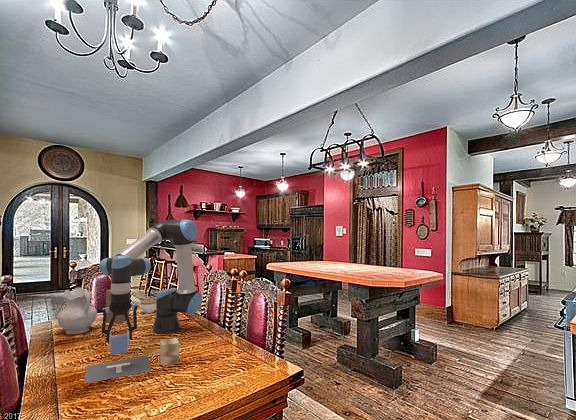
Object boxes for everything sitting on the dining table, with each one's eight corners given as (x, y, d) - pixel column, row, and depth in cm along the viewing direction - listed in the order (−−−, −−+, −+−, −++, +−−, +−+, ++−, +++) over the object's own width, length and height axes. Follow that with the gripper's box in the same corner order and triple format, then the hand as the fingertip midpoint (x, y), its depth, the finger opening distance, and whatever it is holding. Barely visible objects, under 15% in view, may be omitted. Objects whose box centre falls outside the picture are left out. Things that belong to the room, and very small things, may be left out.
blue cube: (126, 348, 144) (127, 334, 144) (127, 352, 139) (127, 337, 139) (110, 350, 141) (111, 336, 142) (110, 355, 136) (111, 340, 136)
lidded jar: (143, 310, 239) (143, 297, 239) (158, 310, 240) (159, 297, 240) (138, 314, 228) (138, 300, 229) (154, 314, 229) (154, 300, 230)
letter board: (147, 356, 153) (147, 355, 153) (151, 371, 138) (151, 370, 138) (86, 367, 142) (86, 366, 142) (83, 384, 126) (84, 383, 126)
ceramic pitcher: (106, 330, 195) (110, 287, 199) (75, 338, 177) (80, 291, 180) (79, 327, 202) (83, 285, 206) (47, 334, 184) (52, 288, 187)
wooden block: (118, 323, 207) (119, 290, 208) (104, 322, 209) (105, 290, 210) (129, 319, 217) (130, 288, 218) (115, 318, 219) (116, 287, 220)
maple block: (176, 358, 152) (176, 338, 153) (178, 363, 146) (179, 342, 146) (159, 360, 149) (160, 340, 149) (162, 366, 143) (162, 345, 143)
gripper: (144, 289, 149) (142, 341, 148) (95, 293, 140) (93, 349, 139) (145, 292, 143) (144, 347, 141) (94, 296, 134) (92, 354, 132)
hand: (119, 347), depth 140 cm, fingers closed on blue cube, 6 cm apart
